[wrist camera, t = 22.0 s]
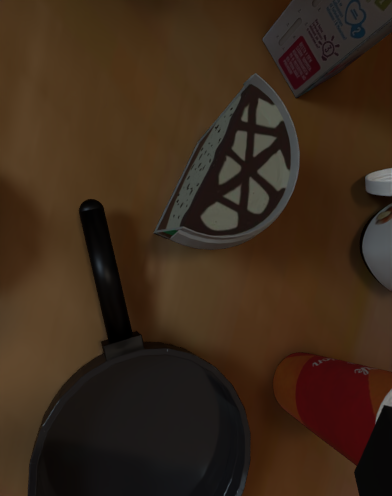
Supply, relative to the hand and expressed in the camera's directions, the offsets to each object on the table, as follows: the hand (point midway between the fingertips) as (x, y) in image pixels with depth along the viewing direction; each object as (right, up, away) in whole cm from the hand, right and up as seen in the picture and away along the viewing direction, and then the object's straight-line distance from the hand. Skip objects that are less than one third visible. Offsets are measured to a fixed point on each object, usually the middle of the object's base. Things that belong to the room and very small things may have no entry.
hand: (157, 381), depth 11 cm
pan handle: (-6, +2, +17) cm, 18 cm away
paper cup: (+11, -8, +22) cm, 26 cm away
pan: (-3, -11, +17) cm, 21 cm away
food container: (+2, +8, +21) cm, 22 cm away
